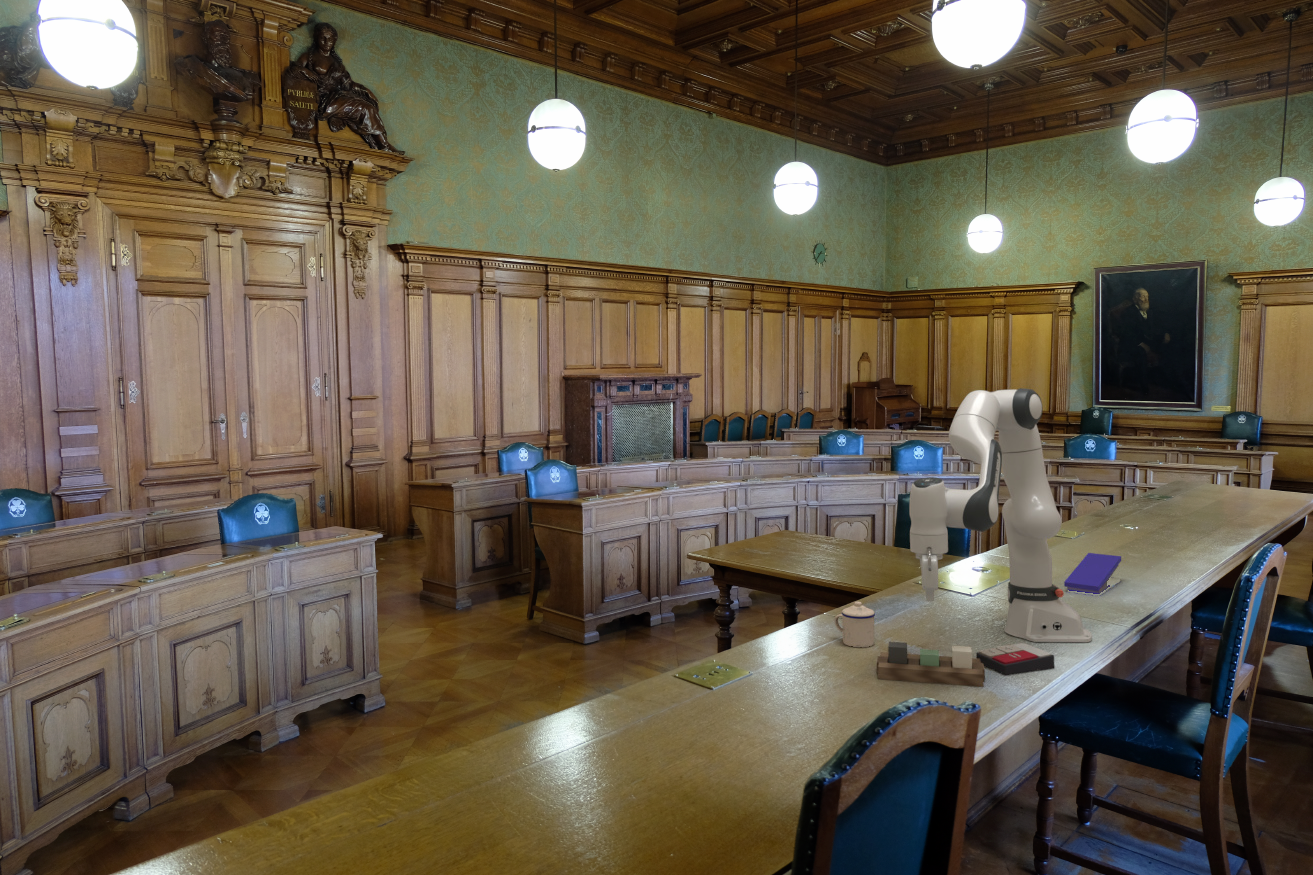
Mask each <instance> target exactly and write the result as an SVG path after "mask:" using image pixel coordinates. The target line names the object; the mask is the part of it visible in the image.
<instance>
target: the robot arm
mask: <svg viewBox="0 0 1313 875" xmlns="http://www.w3.org/2000/svg"><path fill="white" fill-rule="evenodd" d="M1043 407H1044V406H1043V401H1042V398H1041V397H1040V394H1038V393H1037V392H1036V391H1035V390H1033V389H1030V388H1017V389H999V390H998V389H997V390H995V391H988V390H983V389H981V390H980V389H979V390H978V389H977V390H973V391H970V392H969V393H968V394H967V395H966V396H965V397H964V399H963V400H962V401H961V403H960V404H959V406H958V408H957V411H956V413H955V415H954V417H953V419H952V422H951V424H950V428H949V431H948V441H949V444H950V446H951V447H952V450H954V452H956V453H957V454H958V455H960V456H961V457H962V458H964V459H966V460H969V461H971V462H974V463H977V464H978V465H980V472H979V481H978V486H977V487H975V488H971V489H959V488H958V489H957V488H949V487H946V486H945V482H944V480H943V479H942V478H940V477H934V476H931V477H930V476H928V477H922V478H918V479H916V480H914V481H913V482H912V484H911V487H910V495H909V508H908V509H909V518H910V521H911V522H910V523H911V524H910V530H909V543H910V544H909V545H910V547H909V549H910V552H912V553H913V554H914V553H915V559H917V560H919V564H920V571H921V588H922V590H923V591H925V600H926V601H927V602H934V601H935V591H938V589H939V564H938V563H939V560H942V559H943V558H944V556H943V554H947V553H948V552H949V541H948V540H949V535H948V528H954V529H967V530H969V531H970V530H971V531H976V532H983V533H984V532H986V531H988V530H989V529H990V528H992V527H993V526H994V525H996V523H997V521H998V520H999V518H998V517H999V510H1000V509H999V508H1000V506H999V493H1000V487H1001V486H1000V484H1001V476H1002V475H1003V481H1004V482H1005V485H1006V487H1007V490H1008V493H1009V496H1010V498H1008V499H1007V500H1006V501H1005V502H1004V504H1003V505H1002V510H1001V515H1002V518H1003V520H1004V522H1003V523H1004V530H1005V535H1006V536H1005V537H1006V542H1007V547H1008V548H1007V549H1008V555H1009V558H1008V559H1009V582H1008V583H1007V585H1008V586H1007V600H1008V608H1007V617H1006V622H1005V626H1004V628H1003V631H1004V632H1005V633H1006V634H1008V635H1011V636H1014V637H1015V638H1017V637H1018V638H1020V639H1024V640H1027V641H1030V642H1034V643H1089V642H1091V641H1092V640H1093V636H1092V633H1091V631H1090V630H1089V629H1087V628H1086V627H1084V626H1083V621H1082V618H1081V615H1080V614H1079V613H1078V611H1076V609H1074V608H1073V607H1072V606H1070V605H1069V604H1068V603H1067V602H1065V601H1064V600H1062V599H1061V598H1063V596H1065V593H1064V591H1063V590H1062V589H1061V588H1059V587H1058V586H1057V585H1054V584H1053V557H1052V554H1051V552H1050V549H1049V544H1048V540H1049V539H1051V538H1054V537H1055V536H1056V535H1057V534H1058V533H1059V532H1060V530H1061V529H1062V524H1063V523H1062V522H1063V521H1062V517H1061V515H1060V512H1059V511H1058V509H1057V506H1056V502H1055V499H1054V496H1053V493H1052V489H1051V486H1050V483H1049V480H1048V476H1047V473H1046V471H1047V470H1046V466H1045V459H1044V452H1043V445H1042V441H1041V436H1040V433H1039V432H1040V431H1039V428H1038V425H1037V424H1038V423H1039V422H1040V420H1041V418H1042V414H1043ZM996 432H998V441H997V440H996V439H995V434H996ZM1001 474H1002V475H1001Z"/></svg>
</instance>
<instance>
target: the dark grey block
mask: <svg viewBox="0 0 1313 875" xmlns="http://www.w3.org/2000/svg"><path fill="white" fill-rule="evenodd" d="M887 650H888V651H887V652H888V659H889V663H895V664H907V654H908V642H902V641H900V642H899V641H888V647H887Z"/></svg>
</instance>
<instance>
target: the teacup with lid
mask: <svg viewBox="0 0 1313 875" xmlns="http://www.w3.org/2000/svg"><path fill="white" fill-rule="evenodd" d="M875 616H876V614H875V611H874V609H871V608H868V607H867V606H865V605H863V604H862V602H861V601H854V604H853V605H851V606H849V607H846V608H843V609H842V610H841V613H840V614H837V615H836V616H834V625H835V628H836V630H838V631H839V632H841V633H842V642H843V644H844V645H846V646H848V647H851V646H853V648H860V647H862V648H869V646H870V647H872V646H874V645H875ZM839 618H842V627H841V625H840V623H839Z"/></svg>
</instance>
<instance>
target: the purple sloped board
mask: <svg viewBox="0 0 1313 875" xmlns="http://www.w3.org/2000/svg"><path fill="white" fill-rule="evenodd" d="M1121 562H1122V556H1121V555H1112V554H1102V553H1095V552H1094V553H1093V552H1088V553H1087V554H1086V555H1085V557H1083V559H1082V560H1081V561H1080V562H1079V564H1078V565H1077V566H1076V568H1074V570H1073V571H1072V572H1071V573H1070V574H1069V575H1068V577H1067V578H1066V579H1065V581H1063V582H1064V583H1063V584H1064V587H1066V589H1067V590H1069V591H1077V592H1085V593H1093V594H1100V593H1101V592H1103V591H1104V590H1106V589H1107V588H1108V587H1110V585H1108V586H1107V581H1108V580H1109V578H1110V577H1111V578H1112V576H1113V574H1114V573H1115V571H1116V570H1117V569H1118V567H1119V564H1120V563H1121Z"/></svg>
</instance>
